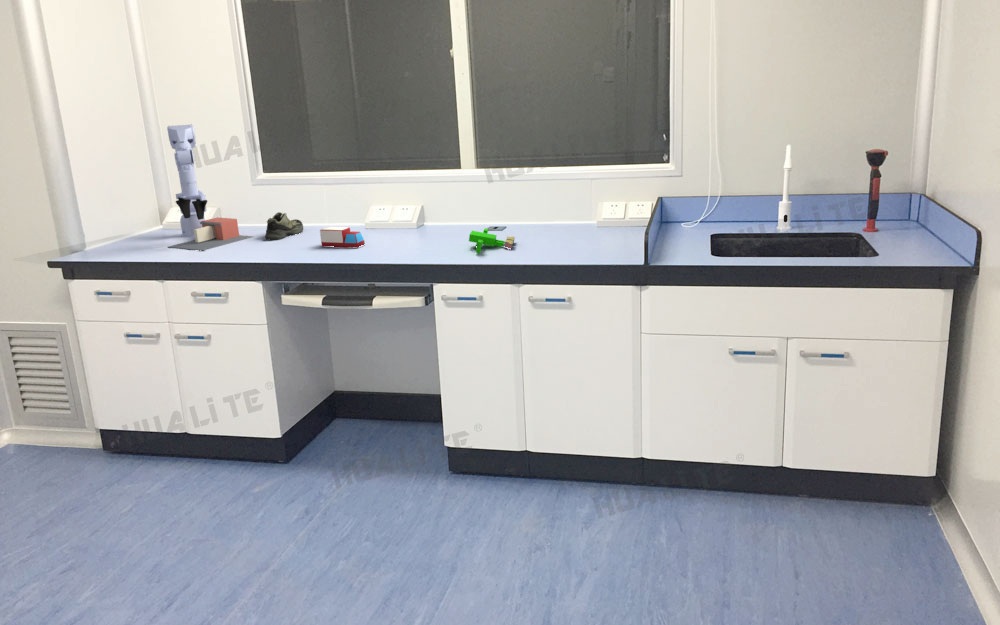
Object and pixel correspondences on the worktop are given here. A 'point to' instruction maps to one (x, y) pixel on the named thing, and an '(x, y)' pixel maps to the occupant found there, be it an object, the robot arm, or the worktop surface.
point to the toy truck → (340, 237)
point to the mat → (207, 243)
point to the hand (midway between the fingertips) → (194, 218)
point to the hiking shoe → (282, 227)
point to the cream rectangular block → (205, 233)
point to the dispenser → (223, 227)
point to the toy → (488, 240)
